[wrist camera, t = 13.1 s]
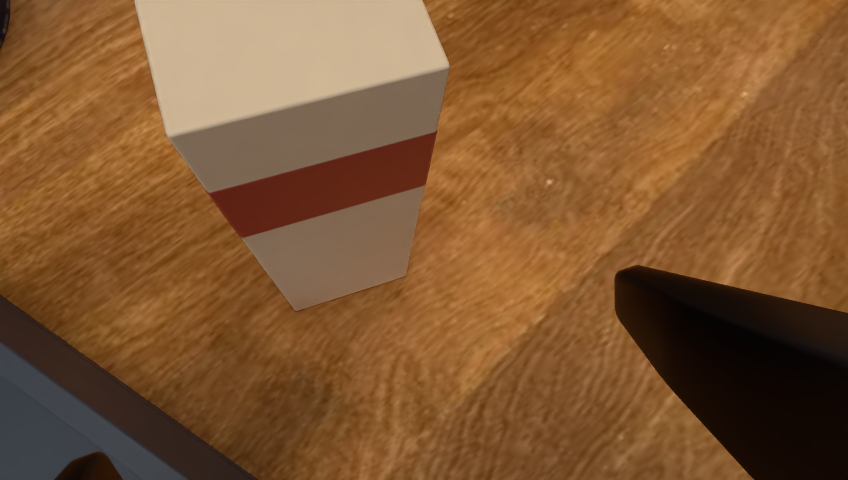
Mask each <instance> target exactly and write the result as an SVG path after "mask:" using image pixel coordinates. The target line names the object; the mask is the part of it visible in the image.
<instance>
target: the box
mask: <svg viewBox="0 0 848 480" xmlns="http://www.w3.org/2000/svg"><path fill="white" fill-rule="evenodd" d="M96 451H101V452H103V453H105V454H106V455H107V456H108V457H109V459H110V460H111V462H112V463H113V465H114V466H115V468H116V469H117V471H118V472H119V474H120V475H121V477H122V478H123V480H257V479H256V478H255V477H253V476H252V475H250V474H249V473H248V472H246V471H245V470H243V469H242V468H241V467H239V466H238V465H237V464H235V463H234V462H232V461H231V460H230V459H228V458H227V457H225V456H224V455H223V454H221V453H220V452H218V451H217V450H216V449H214V448H213V447H211V446H210V445H209V444H207V443H206V442H204V441H203V440H202V439H200V438H199V437H197V436H196V435H195V434H193V433H192V432H190V431H189V430H188V429H186V428H185V427H183V426H182V425H181V424H179V423H178V422H177V421H175V420H174V419H172V418H171V417H170V416H168V415H167V414H165V413H164V412H163V411H161V410H160V409H158V408H157V407H156V406H154V405H153V404H151V403H150V402H149V401H147V400H146V399H144V398H143V397H142V396H140V395H139V394H137V393H136V392H135V391H133V390H132V389H130V388H129V387H128V386H126V385H125V384H123V383H122V382H121V381H119V380H118V379H116V378H115V377H114V376H112V375H111V374H110V373H108V372H107V371H105V370H104V369H103V368H101V367H100V366H98V365H97V364H96V363H94V362H93V361H91V360H90V359H89V358H87V357H86V356H84V355H83V354H82V353H80V352H79V351H77V350H76V349H75V348H73V347H72V346H70V345H69V344H68V343H66V342H65V341H63V340H62V339H61V338H59V337H58V336H56V335H55V334H54V333H52V332H51V331H49V330H48V329H47V328H45V327H44V326H43V325H41V324H40V323H38V322H37V321H36V320H34V319H33V318H31V317H30V316H29V315H27V314H26V313H24V312H23V311H22V310H20V309H19V308H17V307H16V306H15V305H13V304H12V303H10V302H9V301H8V300H6V299H5V298H3V297H2V296H1V295H0V480H54V479H55V478H56V477H57V476H58V475H59V473H60V472H61V471H62V470H63V469H64V468H65V467H66V466H67V465H68V464H69V463H70V462H71V461H72V460H74V459H76V458H79V457H82V456H84V455H87V454H90V453H93V452H96Z"/></svg>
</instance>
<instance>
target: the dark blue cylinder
mask: <svg viewBox="0 0 848 480" xmlns="http://www.w3.org/2000/svg"><path fill="white" fill-rule="evenodd" d="M8 20H9V0H0V46H1V43H2V41H3V39H4V36H5V34H6V30H7V25H8Z"/></svg>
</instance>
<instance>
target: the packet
mask: <svg viewBox="0 0 848 480" xmlns="http://www.w3.org/2000/svg"><path fill="white" fill-rule="evenodd" d="M134 2H135V6H136V10H137V15H138V19H139V23H140V27H141V32H142V36H143V40H144V44H145V48H146V53H147V57H148V61H149V65H150V70H151V74H152V78H153V82H154V86H155V91H156V95H157V99H158V103H159V108H160V112H161V116H162V120H163V124H164V129H165V133H166V136H167V137H168V139H169V140H170V141H171V143H172V144H173V146H174V147H175V148H176V150H177V151H178V152H179V154H180V155H181V156H182V158H183V159H184V161H185V162H186V163H187V165H188V166H189V167H190V169H191V170H192V171H193V173H194V174H195V176H196V177H197V178H198V180H199V181H200V182H201V184H202V185H203V186H204V188H205V190H206V192H207V193H208V195H209V196H210V197H211V199H212V200H213V201H214V203H215V204H216V206H217V207H218V208H219V210H220V211H221V212H222V214H223V215H224V216H225V218H226V219H227V220H228V222H229V223H230V224H231V226H232V227H233V229H234V230H235V231H236V233H237V234H238V235H239V236H240V237H241V238H242V240H243V241H244V242H245V244H246V245H247V246H248V248H249V249H250V250H251V252H252V253H253V255H254V256H255V257H256V259H257V260H258V261H259V263H260V264H261V265H262V267H263V268H264V270H265V271H266V272H267V274H268V275H269V276H270V278H271V279H272V280H273V282H274V283H275V284H276V286H277V287H278V289H279V290H280V291H281V293H282V294H283V295H284V297H285V298H286V299H287V301H288V302H289V304H290V305H291V306H292V308H293V309H294V310H295V311H299V310H302V309H305V308H308V307H311V306H314V305H317V304H320V303H324V302H327V301H330V300H333V299H336V298H339V297H342V296H346V295H349V294H352V293H355V292H358V291H361V290H364V289H367V288H371V287H374V286H377V285H380V284H383V283H386V282H389V281H393V280H396V279H399V278H402V277H405V276H406V272H407V268H408V263H409V258H410V253H411V249H412V244H413V239H414V234H415V230H416V225H417V220H418V215H419V211H420V206H421V201H422V197H423V192H424V187H425V184H426V181H427V176H428V171H429V167H430V162H431V157H432V153H433V148H434V143H435V139H436V134H437V126H438V121H439V116H440V111H441V107H442V102H443V97H444V93H445V88H446V83H447V78H448V74H449V69H450V64H449V62H448V60H447V57H446V55H445V52H444V50H443V48H442V45H441V43H440V41H439V38H438V36H437V33H436V31H435V29H434V26H433V24H432V22H431V19H430V17H429V15H428V12H427V10H426V7H425V5H424V3H423V0H134Z"/></svg>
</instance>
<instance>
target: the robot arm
mask: <svg viewBox="0 0 848 480" xmlns="http://www.w3.org/2000/svg"><path fill="white" fill-rule="evenodd" d="M615 311H616V314H617V317H618V319H619V320H620V322H621V323H622V325H623V326H624V327H625V329H626V330H627V331H628V333H629V334H630V335H631V337H632V338H633V340H634V341H635V342H636V344H637V345H638V346H639V348H640V349H641V350H642V352H643V353H644V354H645V356H646V357H647V358H648V360H649V361H650V363H651V364H652V365H653V367H654V368H655V369H656V371H657V372H658V373H659V375H660V376H661V377H662V378H663V380H664V381H665V382H666V384H667V385H668V386H669V387H670V388H671V389H672V390H673V392H674V393H675V394H676V395H677V396H678V397H679V398H680V399H681V400H682V402H683V403H684V404H685V405H686V406H687V407H688V408H689V409H690V410H691V411H692V412H693V414H694V415H695V416H696V417H697V418H698V419H699V420H700V421H701V422H702V423H703V424H704V426H705V427H706V428H707V429H708V430H709V431H710V432H711V433H712V434H713V435H714V437H715V438H716V439H717V440H718V441H719V442H720V443H721V444H722V445H723V446H724V447H725V449H726V450H727V451H728V452H729V453H730V454H731V455H732V456H733V457H734V458H735V460H736V461H737V462H738V463H739V464H740V465H741V466H742V467H743V468H744V469H745V470H746V472H747V473H748V474H749V475H750V476H751V477H752V478H753V479H754V480H848V313H845V312H841V311H836V310H832V309H828V308H823V307H819V306H814V305H810V304H806V303H801V302H797V301H793V300H788V299H784V298H779V297H775V296H771V295H766V294H762V293H758V292H753V291H749V290H744V289H740V288H736V287H731V286H727V285H723V284H718V283H714V282H710V281H705V280H701V279H696V278H692V277H688V276H683V275H679V274H675V273H670V272H666V271H661V270H657V269H653V268H648V267H644V266H639V265H635V266H631V267H629V268H626V269H623V270H620V271H618V272H617V273H616V275H615ZM54 480H123V478H122V477H121V475H120V474H119V472H118V471H117V469H116V468H115V466H114V465H113V463H112V462H111V460H110V459H109V457H108V456H107V455H106V454H105V453H103V452H101V451H96V452H93V453H90V454H87V455H84V456H82V457H79V458H76V459H74V460H72V461H71V462H70V463H69V464H68V465H67V466H66V467H65V468H64V469H63V470H62V471H61V472H60V473H59V475H58V476H57V477H56V478H55V479H54Z"/></svg>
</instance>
